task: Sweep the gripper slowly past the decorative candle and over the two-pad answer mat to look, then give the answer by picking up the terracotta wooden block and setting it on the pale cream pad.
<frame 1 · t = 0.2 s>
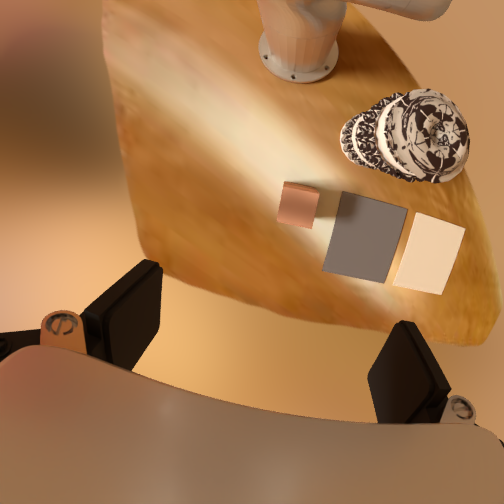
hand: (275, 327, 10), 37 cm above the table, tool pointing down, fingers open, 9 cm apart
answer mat: (400, 248, 45), on the table
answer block: (296, 199, 45), on the table
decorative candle: (365, 141, 40), on the table
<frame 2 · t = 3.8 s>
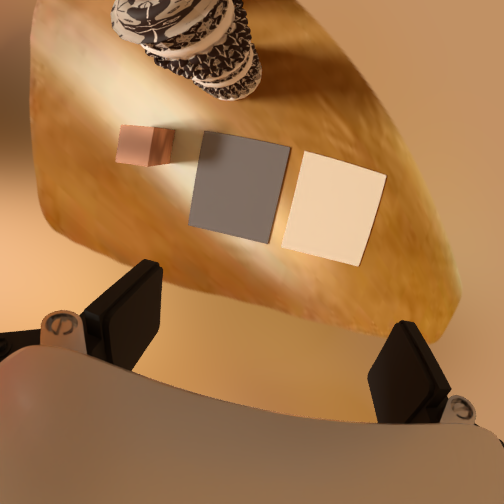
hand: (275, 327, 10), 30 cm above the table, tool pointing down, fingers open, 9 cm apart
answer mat: (285, 198, 39), on the table
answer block: (157, 144, 38), on the table
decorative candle: (232, 73, 34), on the table
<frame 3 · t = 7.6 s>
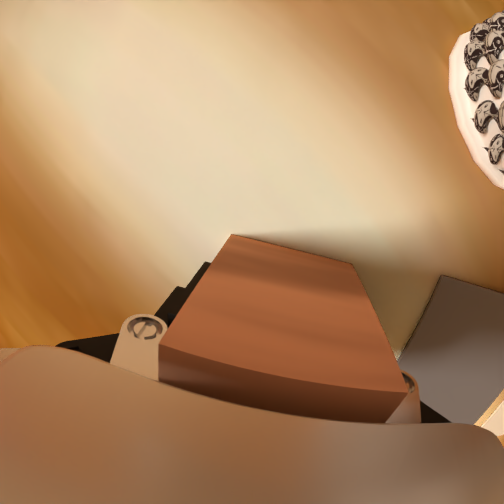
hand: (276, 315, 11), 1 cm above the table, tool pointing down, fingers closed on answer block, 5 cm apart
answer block: (277, 302, 12), on the table, touching gripper
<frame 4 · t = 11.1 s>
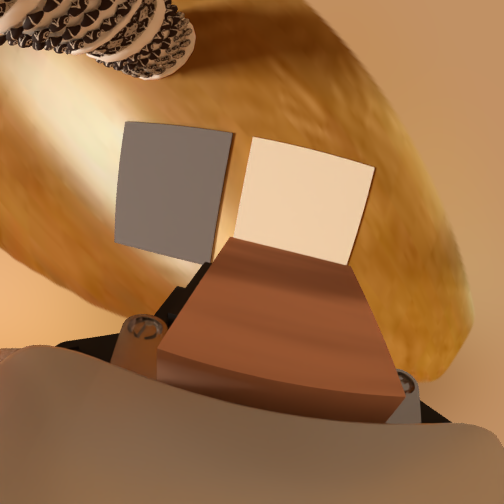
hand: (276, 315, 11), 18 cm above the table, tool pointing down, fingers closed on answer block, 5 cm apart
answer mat: (229, 204, 28), on the table
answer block: (276, 305, 12), point 17 cm above the table, touching gripper
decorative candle: (159, 46, 23), on the table
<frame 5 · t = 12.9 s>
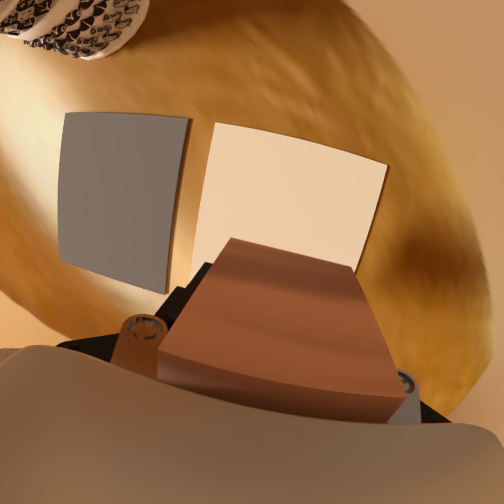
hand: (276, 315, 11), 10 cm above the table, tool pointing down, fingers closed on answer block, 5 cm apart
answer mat: (185, 215, 20), on the table
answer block: (277, 305, 12), point 9 cm above the table, touching gripper
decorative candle: (108, 19, 15), on the table
when the fingers open (3 cm above the table, at t = 14.6 s): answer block drops 1 cm, resting on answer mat.
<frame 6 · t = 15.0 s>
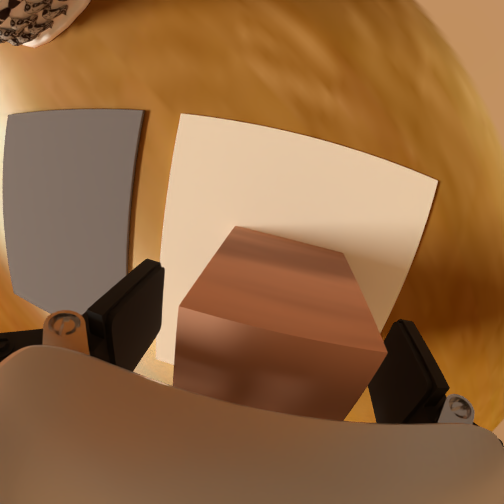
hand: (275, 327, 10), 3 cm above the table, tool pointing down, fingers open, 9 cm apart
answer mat: (144, 251, 14), on the table
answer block: (276, 288, 13), resting on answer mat
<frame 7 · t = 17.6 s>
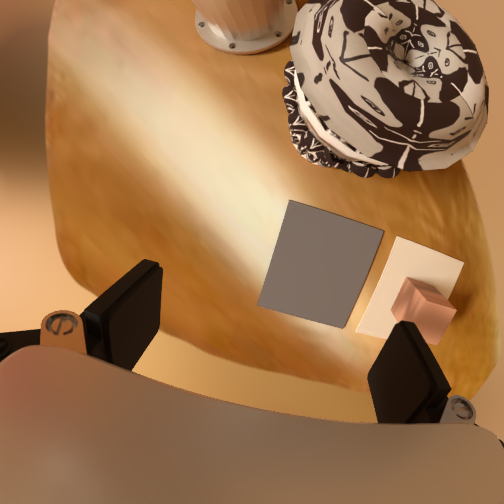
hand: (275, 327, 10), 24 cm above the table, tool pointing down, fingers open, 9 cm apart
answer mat: (369, 284, 34), on the table
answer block: (412, 298, 33), resting on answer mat
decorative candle: (327, 131, 29), on the table
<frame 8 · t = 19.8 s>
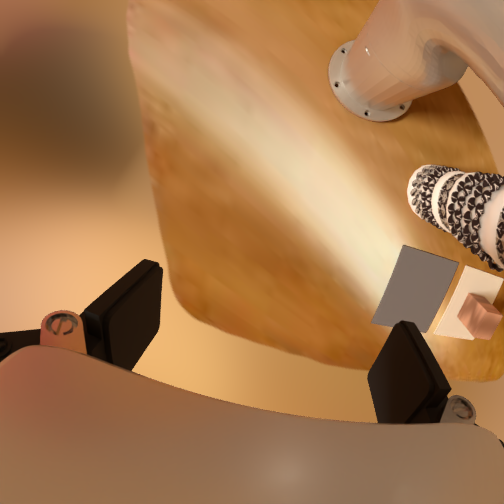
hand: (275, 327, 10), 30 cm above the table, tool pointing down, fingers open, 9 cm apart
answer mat: (446, 300, 40), on the table
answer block: (470, 306, 40), resting on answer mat
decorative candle: (430, 192, 35), on the table
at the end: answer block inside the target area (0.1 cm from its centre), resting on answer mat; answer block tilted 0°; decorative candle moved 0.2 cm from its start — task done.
